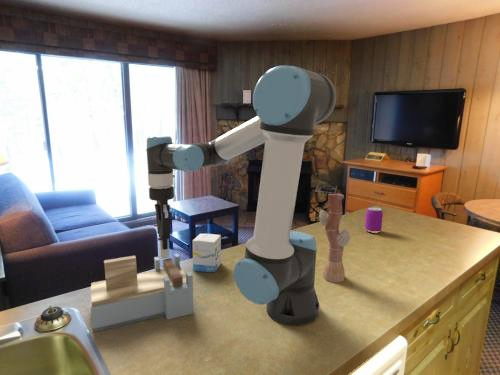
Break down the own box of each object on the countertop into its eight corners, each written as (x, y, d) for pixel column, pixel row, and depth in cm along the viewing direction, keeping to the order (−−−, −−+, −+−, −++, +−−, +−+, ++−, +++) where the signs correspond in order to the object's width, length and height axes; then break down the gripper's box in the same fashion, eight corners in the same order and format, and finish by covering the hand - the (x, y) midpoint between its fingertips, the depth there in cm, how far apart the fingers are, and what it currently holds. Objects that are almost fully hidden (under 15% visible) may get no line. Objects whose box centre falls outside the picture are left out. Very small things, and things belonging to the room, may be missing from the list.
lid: (190, 288, 94) (189, 255, 92) (92, 309, 83) (88, 272, 81) (180, 272, 104) (179, 242, 102) (91, 289, 93) (88, 256, 91)
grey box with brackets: (194, 313, 93) (193, 275, 91) (93, 338, 82) (89, 295, 80) (179, 286, 108) (178, 253, 106) (92, 304, 97) (89, 268, 94)
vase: (350, 279, 114) (356, 194, 108) (336, 285, 109) (342, 197, 104) (326, 268, 122) (331, 189, 116) (312, 273, 118) (316, 192, 112)
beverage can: (382, 231, 165) (384, 208, 163) (379, 235, 159) (381, 211, 156) (366, 228, 169) (368, 205, 167) (363, 232, 163) (365, 209, 160)
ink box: (214, 273, 118) (214, 242, 116) (192, 270, 119) (191, 240, 117) (221, 263, 126) (221, 234, 124) (200, 261, 128) (199, 232, 125)
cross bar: (182, 285, 91) (182, 276, 91) (173, 286, 90) (173, 278, 90) (171, 265, 104) (171, 258, 103) (163, 266, 103) (163, 259, 102)
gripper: (178, 189, 98) (181, 263, 103) (169, 181, 109) (171, 248, 114) (152, 191, 95) (156, 267, 99) (145, 183, 106) (149, 252, 111)
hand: (164, 257), depth 107 cm, fingers closed
